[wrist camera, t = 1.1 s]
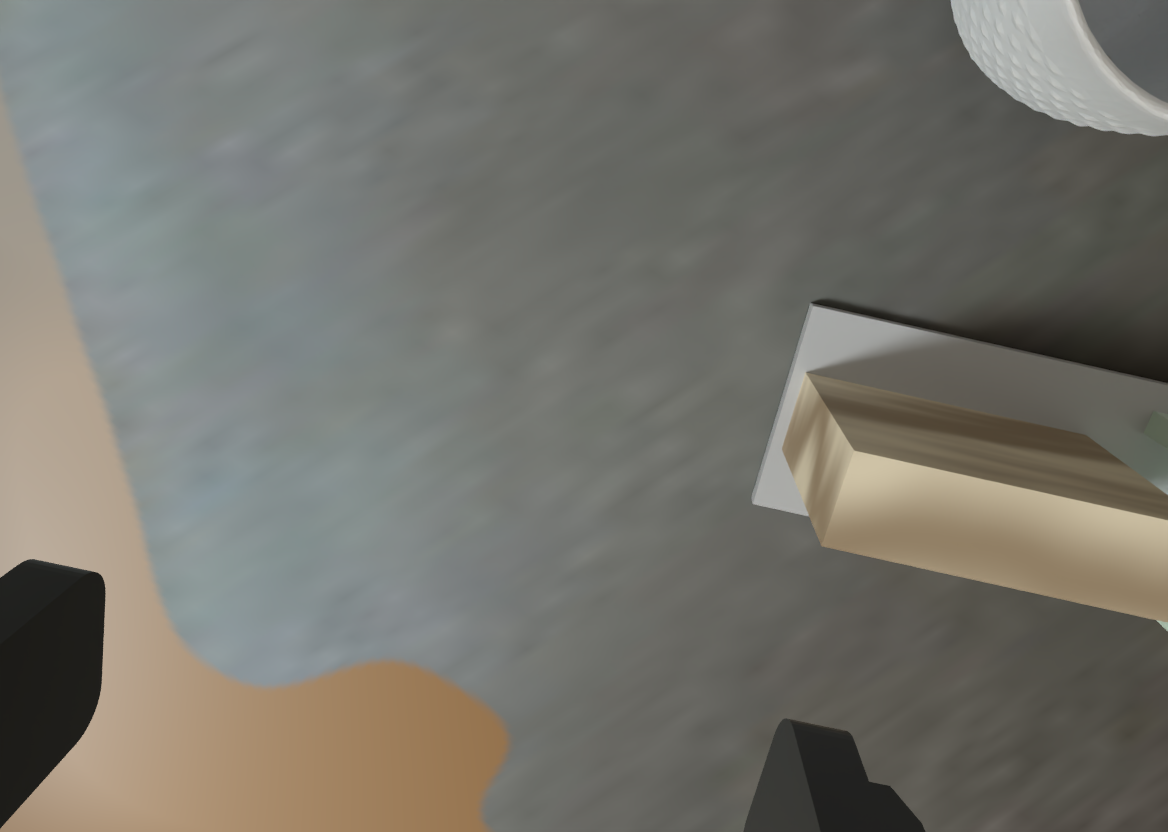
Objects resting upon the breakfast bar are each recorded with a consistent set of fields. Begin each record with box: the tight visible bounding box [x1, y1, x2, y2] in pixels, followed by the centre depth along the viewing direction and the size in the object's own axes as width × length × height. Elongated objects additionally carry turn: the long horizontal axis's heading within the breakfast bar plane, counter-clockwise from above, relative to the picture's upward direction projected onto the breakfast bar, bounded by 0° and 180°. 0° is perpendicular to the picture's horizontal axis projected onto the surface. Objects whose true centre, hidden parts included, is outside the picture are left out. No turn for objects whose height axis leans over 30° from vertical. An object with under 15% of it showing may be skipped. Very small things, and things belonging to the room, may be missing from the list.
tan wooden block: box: [782, 372, 1168, 623], centre depth 34 cm, size 4×12×9 cm, turn 78°
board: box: [751, 303, 1168, 516], centre depth 38 cm, size 9×22×1 cm, turn 78°
